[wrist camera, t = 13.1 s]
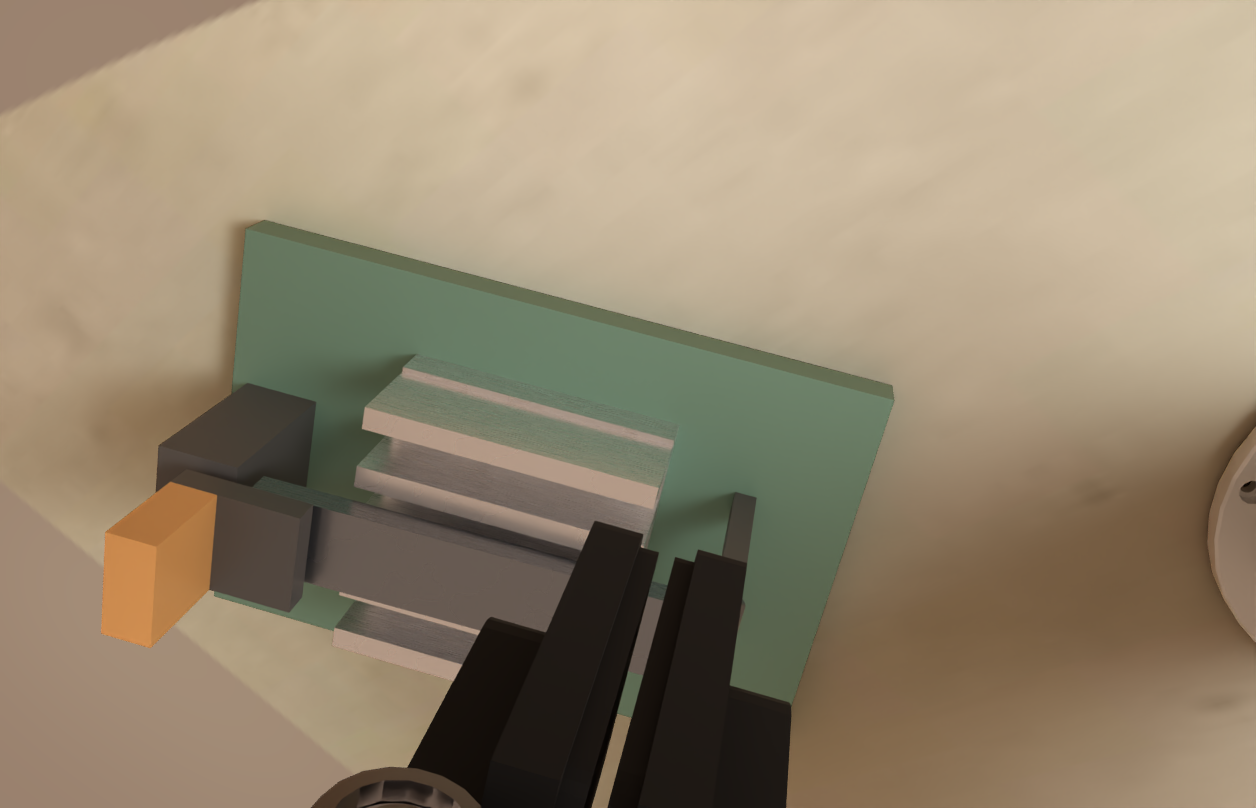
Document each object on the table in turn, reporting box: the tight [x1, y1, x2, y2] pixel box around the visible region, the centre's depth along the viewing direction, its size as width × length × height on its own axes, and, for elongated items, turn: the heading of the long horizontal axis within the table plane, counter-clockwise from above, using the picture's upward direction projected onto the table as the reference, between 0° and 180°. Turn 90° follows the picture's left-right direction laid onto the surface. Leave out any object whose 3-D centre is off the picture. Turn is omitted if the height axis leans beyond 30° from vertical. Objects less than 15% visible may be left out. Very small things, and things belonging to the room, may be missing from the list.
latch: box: [101, 469, 313, 648], centre depth 36 cm, size 4×4×4 cm
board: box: [156, 220, 894, 718], centre depth 41 cm, size 24×16×8 cm, turn 78°
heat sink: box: [332, 354, 679, 681], centre depth 41 cm, size 10×10×5 cm
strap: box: [252, 476, 745, 675], centre depth 38 cm, size 17×4×1 cm, turn 78°
